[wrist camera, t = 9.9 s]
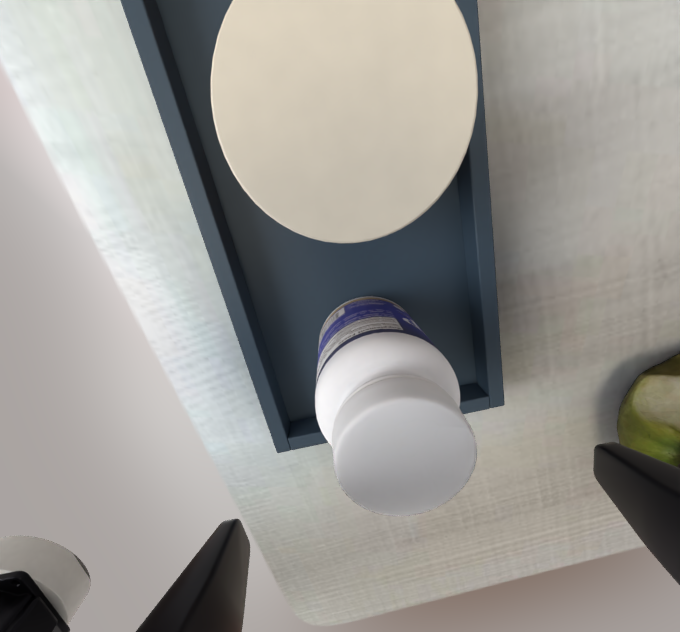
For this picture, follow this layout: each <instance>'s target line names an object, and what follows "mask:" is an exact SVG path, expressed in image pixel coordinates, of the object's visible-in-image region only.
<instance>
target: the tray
mask: <svg viewBox="0 0 680 632" xmlns="http://www.w3.org/2000/svg"><path fill="white" fill-rule="evenodd" d="M232 1H233V0H121V3H122V6H123V9H124V12H125V15H126V18H127V21H128V23H129V26H130V29H131V32H132V35H133V38H134V41H135V44H136V46H137V49H138V52H139V55H140V58H141V61H142V64H143V67H144V70H145V72H146V75H147V78H148V81H149V84H150V87H151V90H152V93H153V96H154V98H155V101H156V104H157V107H158V110H159V113H160V116H161V119H162V122H163V124H164V127H165V130H166V133H167V136H168V139H169V142H170V145H171V148H172V150H173V153H174V156H175V159H176V162H177V165H178V168H179V171H180V173H181V176H182V179H183V182H184V185H185V188H186V191H187V194H188V197H189V199H190V202H191V205H192V208H193V211H194V214H195V217H196V220H197V223H198V225H199V228H200V231H201V234H202V237H203V240H204V243H205V246H206V249H207V251H208V254H209V257H210V260H211V263H212V266H213V269H214V272H215V274H216V277H217V280H218V283H219V286H220V289H221V292H222V295H223V298H224V300H225V303H226V306H227V309H228V312H229V315H230V318H231V321H232V324H233V326H234V329H235V332H236V335H237V338H238V341H239V344H240V347H241V350H242V352H243V355H244V358H245V361H246V364H247V367H248V370H249V373H250V376H251V378H252V381H253V384H254V387H255V390H256V393H257V396H258V399H259V401H260V404H261V407H262V410H263V413H264V416H265V419H266V422H267V425H268V427H269V430H270V433H271V436H272V439H273V442H274V445H275V448H276V451H277V453H280V452H285V451H290V450H295V449H299V448H304V447H309V446H314V445H318V444H323V443H328V441H327V440H326V438H325V437H324V435H323V433H322V431H321V429H320V427H319V424H318V421H317V416H316V410H315V387H316V378H317V366H318V348H319V337H320V333H321V329H322V327H323V325H324V323H325V321H326V319H327V318H328V317H329V315H330V314H331V313H332V312H333V311H334V310H335V309H336V308H337V307H339V306H340V305H342V304H343V303H345V302H347V301H349V300H352V299H355V298H359V297H366V296H373V297H381V298H384V299H387V300H390V301H392V302H394V303H396V304H397V305H399V306H400V307H401V308H403V309H404V310H405V311H406V312H407V313H408V315H409V316H410V317H411V318H412V319H413V320H414V322H415V323H416V324H417V325H418V326H419V327H420V329H421V330H422V331H423V332H424V333H425V334H426V336H427V337H428V338H429V339H430V340H431V341H432V343H433V344H434V345H435V346H436V347H437V348H438V349H439V351H440V352H441V353H442V354H443V355H444V357H445V358H446V359H447V361H448V362H449V364H450V365H451V367H452V369H453V370H454V373H455V375H456V377H457V380H458V384H459V389H460V407H459V408H460V410H461V412H462V414H466V413H471V412H476V411H480V410H485V409H489V408H494V407H499V406H503V405H504V391H503V376H502V361H501V346H500V331H499V317H498V302H497V287H496V272H495V257H494V243H493V228H492V213H491V198H490V183H489V169H488V154H487V139H486V124H485V109H484V94H483V80H482V65H481V50H480V35H479V20H478V6H477V0H455V2H456V3H457V5H458V7H459V9H460V11H461V13H462V15H463V17H464V20H465V23H466V25H467V28H468V30H469V33H470V37H471V41H472V45H473V49H474V53H475V59H476V66H477V74H478V100H477V110H476V118H475V123H474V127H473V132H472V136H471V139H470V142H469V145H468V148H467V152H466V154H465V156H464V159H463V161H462V163H461V165H460V167H459V169H458V171H457V173H456V175H455V176H454V178H453V180H452V181H451V183H450V185H449V186H448V187H447V189H446V190H445V191H444V192H443V194H442V195H441V196H440V198H439V199H438V200H437V201H436V202H435V203H434V204H433V205H432V206H431V207H430V208H429V209H428V210H427V211H426V212H425V213H424V214H422V215H421V216H420V217H419V218H417V219H416V220H415V221H413V222H412V223H410V224H409V225H407V226H405V227H404V228H402V229H400V230H398V231H396V232H394V233H392V234H389V235H387V236H385V237H381V238H378V239H374V240H371V241H365V242H359V243H332V242H324V241H320V240H316V239H312V238H308V237H306V236H303V235H301V234H298V233H296V232H294V231H292V230H290V229H288V228H286V227H285V226H283V225H281V224H279V223H278V222H277V221H275V220H274V219H273V218H271V217H270V216H269V215H267V214H266V213H265V212H264V211H263V210H262V209H261V208H260V207H259V206H258V205H256V204H255V203H254V201H253V200H252V199H251V198H250V197H249V195H248V194H247V193H246V192H245V191H244V189H243V188H242V187H241V185H240V183H239V182H238V180H237V179H236V177H235V176H234V174H233V172H232V170H231V168H230V166H229V164H228V162H227V160H226V158H225V156H224V154H223V151H222V148H221V145H220V143H219V140H218V136H217V132H216V128H215V124H214V120H213V112H212V104H211V70H212V60H213V54H214V50H215V45H216V41H217V37H218V34H219V31H220V28H221V25H222V22H223V20H224V17H225V15H226V13H227V11H228V9H229V7H230V5H231V3H232Z"/></svg>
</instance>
